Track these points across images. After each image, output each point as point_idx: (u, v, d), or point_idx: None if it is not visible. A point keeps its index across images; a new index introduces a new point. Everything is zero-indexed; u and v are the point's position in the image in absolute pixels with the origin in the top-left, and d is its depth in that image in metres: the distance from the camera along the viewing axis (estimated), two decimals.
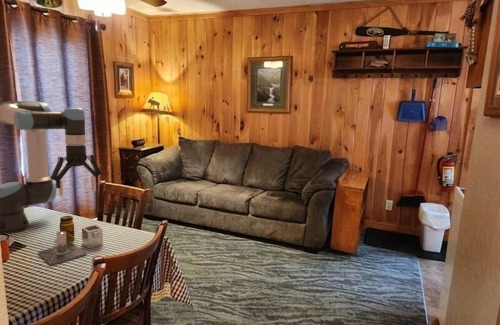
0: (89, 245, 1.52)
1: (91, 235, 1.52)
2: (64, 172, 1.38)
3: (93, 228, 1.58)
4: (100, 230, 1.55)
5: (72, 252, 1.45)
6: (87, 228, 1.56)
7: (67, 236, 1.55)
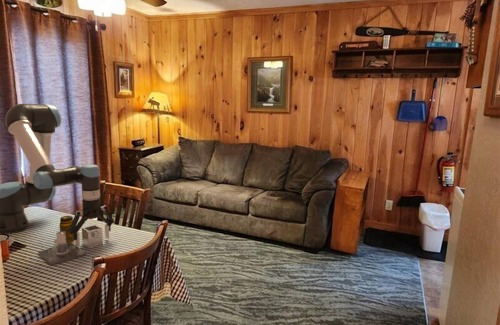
0: (89, 245, 1.52)
1: (91, 235, 1.52)
2: (81, 225, 1.49)
3: (93, 228, 1.58)
4: (100, 230, 1.55)
5: (72, 252, 1.45)
6: (87, 228, 1.56)
7: (67, 236, 1.55)
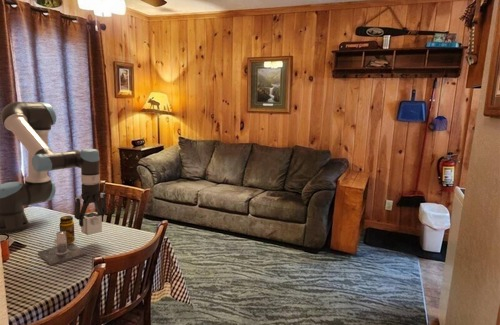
0: (88, 232, 1.51)
1: (90, 222, 1.51)
2: (84, 211, 1.50)
3: (92, 215, 1.57)
4: (99, 217, 1.54)
5: (72, 252, 1.45)
6: (86, 215, 1.55)
7: (67, 236, 1.55)
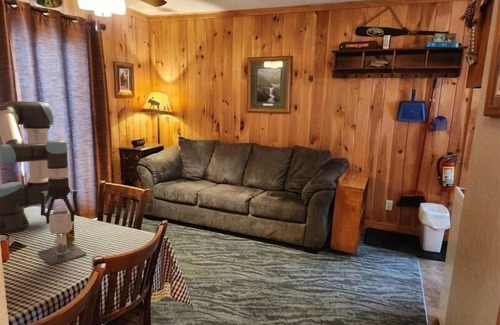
0: (52, 230, 1.38)
1: (54, 220, 1.38)
2: (50, 207, 1.38)
3: (65, 213, 1.44)
4: (65, 216, 1.39)
5: (72, 252, 1.45)
6: (58, 212, 1.43)
7: (67, 236, 1.55)
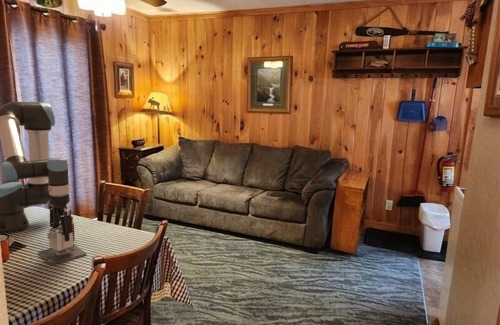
0: (50, 244, 1.42)
1: None
2: (53, 221, 1.43)
3: None
4: (55, 234, 1.38)
5: (72, 252, 1.45)
6: None
7: None
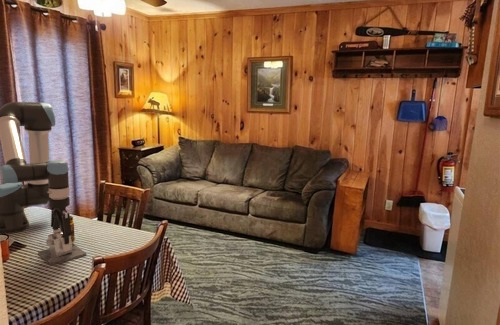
0: (50, 249, 1.43)
1: None
2: (54, 222, 1.44)
3: None
4: (53, 240, 1.38)
5: (72, 252, 1.45)
6: None
7: None
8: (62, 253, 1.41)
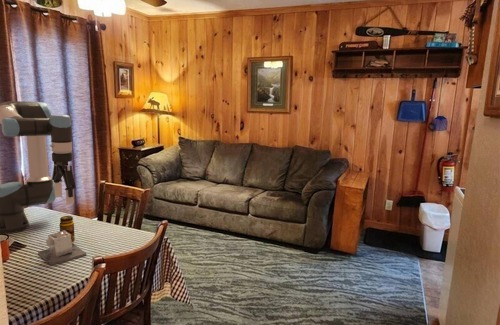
0: (50, 249, 1.43)
1: None
2: (55, 176, 1.44)
3: None
4: (53, 240, 1.38)
5: (72, 252, 1.45)
6: None
7: None
8: (62, 253, 1.41)
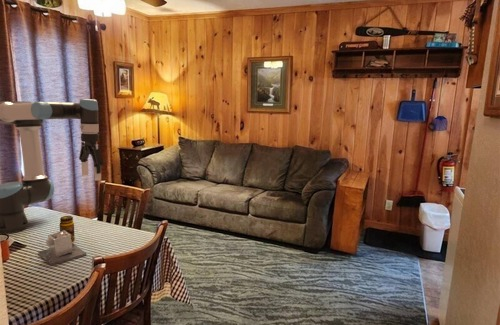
0: (50, 249, 1.43)
1: None
2: (83, 155, 1.58)
3: None
4: (53, 240, 1.38)
5: (72, 252, 1.45)
6: None
7: None
8: (62, 253, 1.41)
